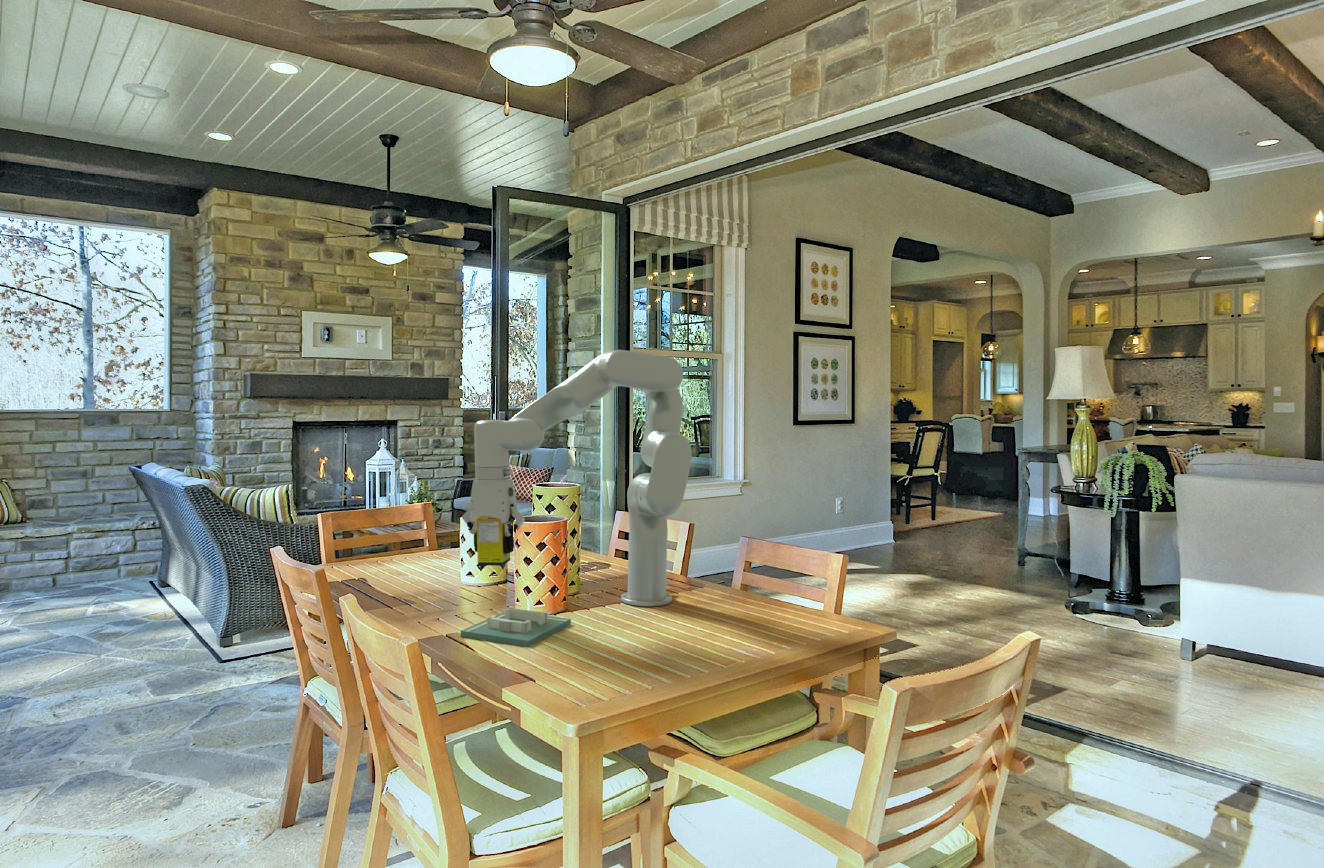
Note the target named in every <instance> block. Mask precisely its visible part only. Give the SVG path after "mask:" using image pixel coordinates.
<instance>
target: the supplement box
mask: <svg viewBox="0 0 1324 868" xmlns="http://www.w3.org/2000/svg"><path fill="white" fill-rule="evenodd" d="M476 521H477V552H476V553H477V567H478V566H479V567H480V566H505V565H506V564H507V563H509V562H510V561H511V553H508V554H504V553H503V536H505V533H504V531H503V525H502V523H501V519H499V518H498V519H497V518H485V517H478V518H477V519H476Z"/></svg>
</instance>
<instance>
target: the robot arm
mask: <svg viewBox="0 0 1324 868" xmlns="http://www.w3.org/2000/svg"><path fill="white" fill-rule="evenodd" d="M683 378H684V371H683V367H682V365H681V363H679V361H677V360H676V359H675V358H673V357H671V356H668V355H658V354H651V353H645V352H638V351H631V350H625V349H615V350H608V351H604V352H602V353H601V354H599V355H598V356H596V357H595V358H593V359H592V360H590V362H588V363H587V364H586V365H584V366H583V367H581V368H580V369H578V371H576V372H575V373H573V374H572V375H571V376H569V377H568V378H566V379H565V380H564V381H563V382H561V383H560V384H558V385H556V386H555V387H553V388H552V389H551V390H550V391H548V392H546V393H545V394H544V395H542V396H541V397H539V398H538V399H536V400H535V401H533V402H531V403H530V404H529V405H528V406H525V408H523V409H522V410H520V411H519V412H518V413H517V414H515V415H514V416H513V417H511V418H510V419H509V420H508V421H505V420H502V419H485V420H484V419H482V420H478V421H476V422H475V424H474V427H473V435H474V436H473V438H474V472H475V473H474V475H475V476H474V478H475V479H474V480H473V481H472V486H471V492H470V503H469V504H470V507H469V509H468V510H466V511H465V513H464V514H462V515H461V517H462V520H463V521H464V523H466V526H467V527H468V528H469V530H470V533H471V534H472V535H473V547H474V552H475V553H477V521H476V519H477V518H478V517H485V518H497V519H498V518H499V519H501V523H502V525H503V531H504V533H505V536H503V553H504V554H508V553H510V554H511V553H512V552H514V548H515V538H514V537H515V536H514V537H513V525H514V532H515V534H514V535H516V534H517V532H516V529H517V531H519V529H521V526H522V525H523V524H524V523H525V522H526V518H525V516H523V515H522V514H521V512H519V511H518V506H517V503H518V502H517V495H516V490H515V489H516V488H515V486H514V481H513V479H510V476H514V470H513V469H510V466H509V465H510V464H509V463H510V461H509V460H510V459H509V451H519V452H533V451H535V450H537V449H538V448H539V447H541V445H542V444H543V442H544V440H545V432H546V431H548V430H549V429H550V428H552V427H554V426H556V425H557V424H559V423H560V422H563V421H566V420H568V419H571V418H573V417H574V418H575V417H576V416H579V415H580V414H582V413H584V412H586V411H587V410H588V409H590V408H591V407H592V406H593V405H594V404H596V403H597V402H598V401H600V399H602V398H604V396H606V395H608V394H609V393H610V392H611V391H612V390H614V389H615V388H618V387H626V388H632V389H638V390H642V391H643V393H644V394H645V397H646V399H647V403H648V413H647V419H646V424H645V428H644V433H643V436H642V441H641V446H640V457H641V460H642V461H643V463H644V464H645V465H646V466H647V467H650V468H651V470H650V472H644V473H641V474H638V475H636V476H635V477H634V478H633V479H632V480H631V481H630V483H629V485H628V488H627V493H626V498H627V499H626V500H627V510H628V556H627V557H628V562H627V563H628V564H627V591H626V592H624V593H622V594H621V596H620V600H621V602H623V603H625V604H627V605H630V606H636V607H659V606H666V605H669V604H670V603H671V602H672V601H673V596H672V595H671V594H669V593H667V586H668V585H669V581H668V579H667V562H668V559H667V558H668V533H669V532H668V518H667V517H670V516H672V515H674V514H675V513H676V512H677V511H678V510H679V509H680V507H681V505H682V503H683V500H684V497H685V494H686V487H687V483H688V479H689V475H690V469H691V465H692V460H693V459H692V454H693V453H692V447H691V444H690V442H689V440H688V439H687V438H686V437H685V435H683V434H681V433H680V431H681V427H682V420H683V413H684V404H683V399H682V395H681V392H680V390H679V389H678V388H679V387H680V385H682V381H683V380H684V379H683ZM517 518H518V519H517ZM515 519H516V521H514V520H515Z"/></svg>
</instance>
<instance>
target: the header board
mask: <svg viewBox="0 0 1324 868" xmlns="http://www.w3.org/2000/svg"><path fill="white" fill-rule="evenodd" d="M571 623H572V621H571V618H565V617H559V616H552V615H551V616H550V615H548V612H543V611H535V610H528V609H522V608H521V609H520V608H513V607H510V608H508V609H505V610H504V611H503V612H501V613H499V614H497V615H495V614H493V615H491V616H488V617H487V619H485V620H483V621H480V622H478V623H476V624H474V625H471V626H469V627H466V628H464V629H462V630H460V637H461V638H467V637H468V638H469V639H472V640H473V639H474V640H475V639H476V640H480V641H489V642H494V643H498V644H499V643H501V644H507V645H513V646H520V647H526V648H528V647H532V646H533V645H535V644H537V643H538V642H540V641H542V640H544V639H546V638H548V637H550V636H553V635H554V634H555V633H557V632H559V631H561V630H563V629H565V628H567V627H568V626H570V625H571ZM468 638H467V639H468Z"/></svg>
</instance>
